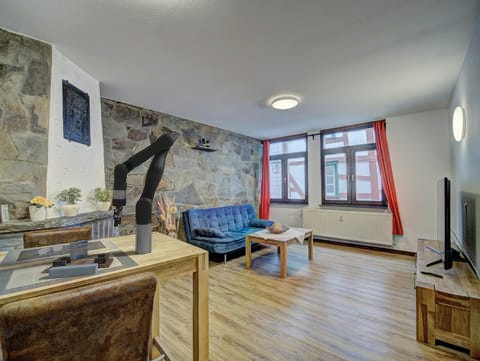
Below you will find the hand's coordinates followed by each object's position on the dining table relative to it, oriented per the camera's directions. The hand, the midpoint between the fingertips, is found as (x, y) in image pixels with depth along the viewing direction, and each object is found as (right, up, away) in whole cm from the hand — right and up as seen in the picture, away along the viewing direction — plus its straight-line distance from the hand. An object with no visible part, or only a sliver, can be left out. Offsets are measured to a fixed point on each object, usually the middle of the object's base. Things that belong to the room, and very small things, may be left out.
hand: (117, 225), depth 134 cm
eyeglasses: (-38, -18, +2) cm, 42 cm away
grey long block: (-4, -17, -30) cm, 35 cm away
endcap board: (-7, -17, -19) cm, 27 cm away
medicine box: (-19, -17, -5) cm, 26 cm away
